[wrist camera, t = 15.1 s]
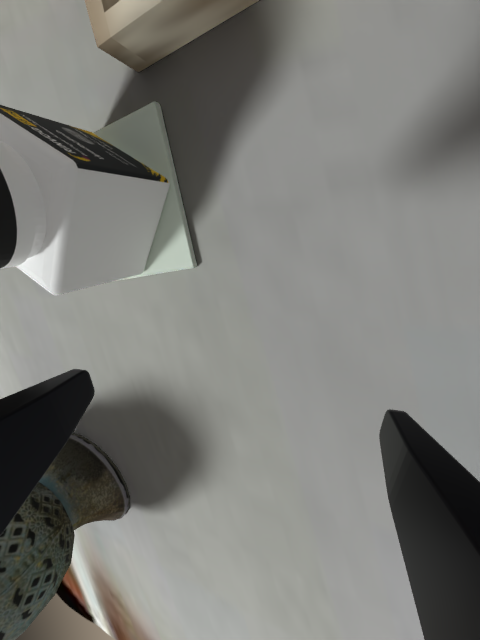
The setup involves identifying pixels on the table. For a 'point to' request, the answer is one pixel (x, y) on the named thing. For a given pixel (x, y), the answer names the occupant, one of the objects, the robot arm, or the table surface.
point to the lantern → (54, 529)
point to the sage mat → (154, 151)
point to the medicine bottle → (73, 204)
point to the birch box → (155, 25)
